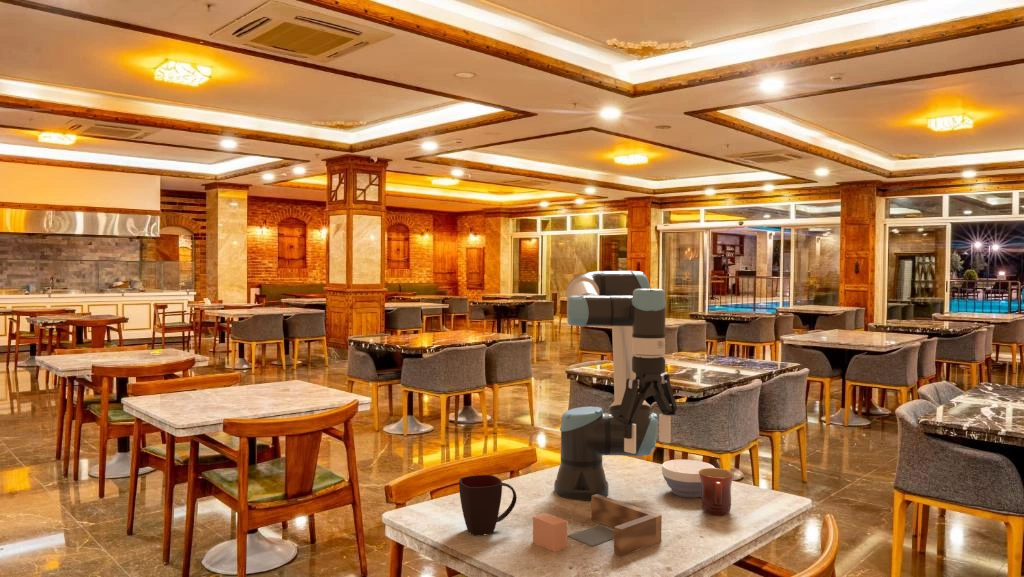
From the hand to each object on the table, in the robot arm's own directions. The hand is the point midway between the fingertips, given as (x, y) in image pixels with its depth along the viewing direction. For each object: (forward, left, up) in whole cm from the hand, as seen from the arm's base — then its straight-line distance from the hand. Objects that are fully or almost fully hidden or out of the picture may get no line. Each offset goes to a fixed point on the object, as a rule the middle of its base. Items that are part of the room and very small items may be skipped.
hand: (647, 447), depth 164 cm
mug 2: (+1, +26, -21) cm, 34 cm away
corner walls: (-7, -6, -21) cm, 23 cm away
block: (-12, -20, -21) cm, 32 cm away
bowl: (-14, +35, -21) cm, 43 cm away
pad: (-9, -8, -21) cm, 24 cm away
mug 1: (-28, -25, -21) cm, 43 cm away
